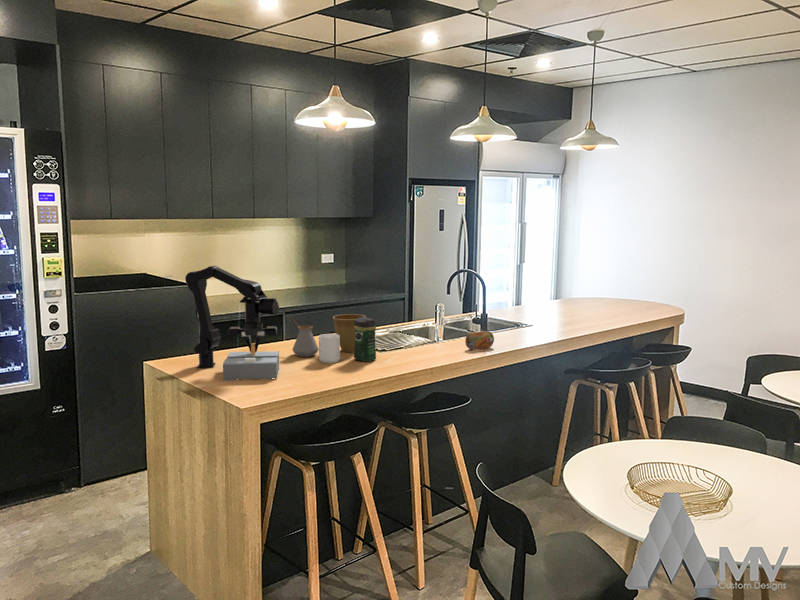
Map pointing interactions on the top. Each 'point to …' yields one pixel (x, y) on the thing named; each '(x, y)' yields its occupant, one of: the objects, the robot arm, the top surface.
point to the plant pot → (346, 330)
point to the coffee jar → (364, 339)
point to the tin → (479, 340)
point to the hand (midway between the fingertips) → (253, 352)
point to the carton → (251, 371)
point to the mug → (329, 348)
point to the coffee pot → (304, 341)
